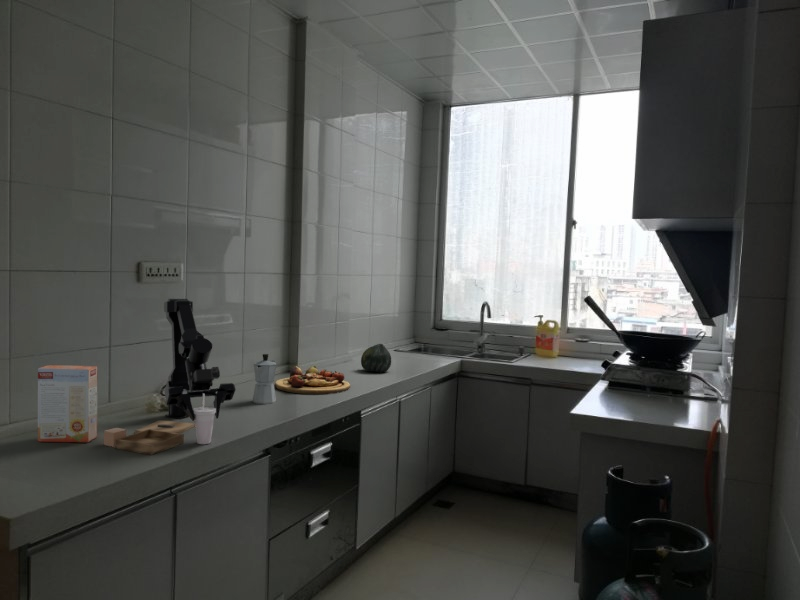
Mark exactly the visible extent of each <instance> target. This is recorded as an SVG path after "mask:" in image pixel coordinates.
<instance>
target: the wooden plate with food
mask: <svg viewBox="0 0 800 600" xmlns="http://www.w3.org/2000/svg"><path fill="white" fill-rule="evenodd" d="M289 376H290V377H284V378H281V379H277V380H276V381H275V383H274V388H277V390H280V391H284V392H287V393H292V394H293V393H295V394H304V395H329V394H328V393H333V394H338V393H337V392H339V393H343V392H342V391H344V392H346V390H347V391H349V390H350V389H349V388H351V384H350V383H349V381H346V380H345V375H344V373H342V372H337V371H336V370H334V372H333V371H328V370H327V369H322V370H320V371H319V370H318V368H316V367H315V366H311V367H309V368H308V369H307V370H306V371H305V373H303V370H302V369H301V368H300V367H298V366H294V367H293V368H291V370H290V372H289ZM348 389H349V390H348Z"/></svg>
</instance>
